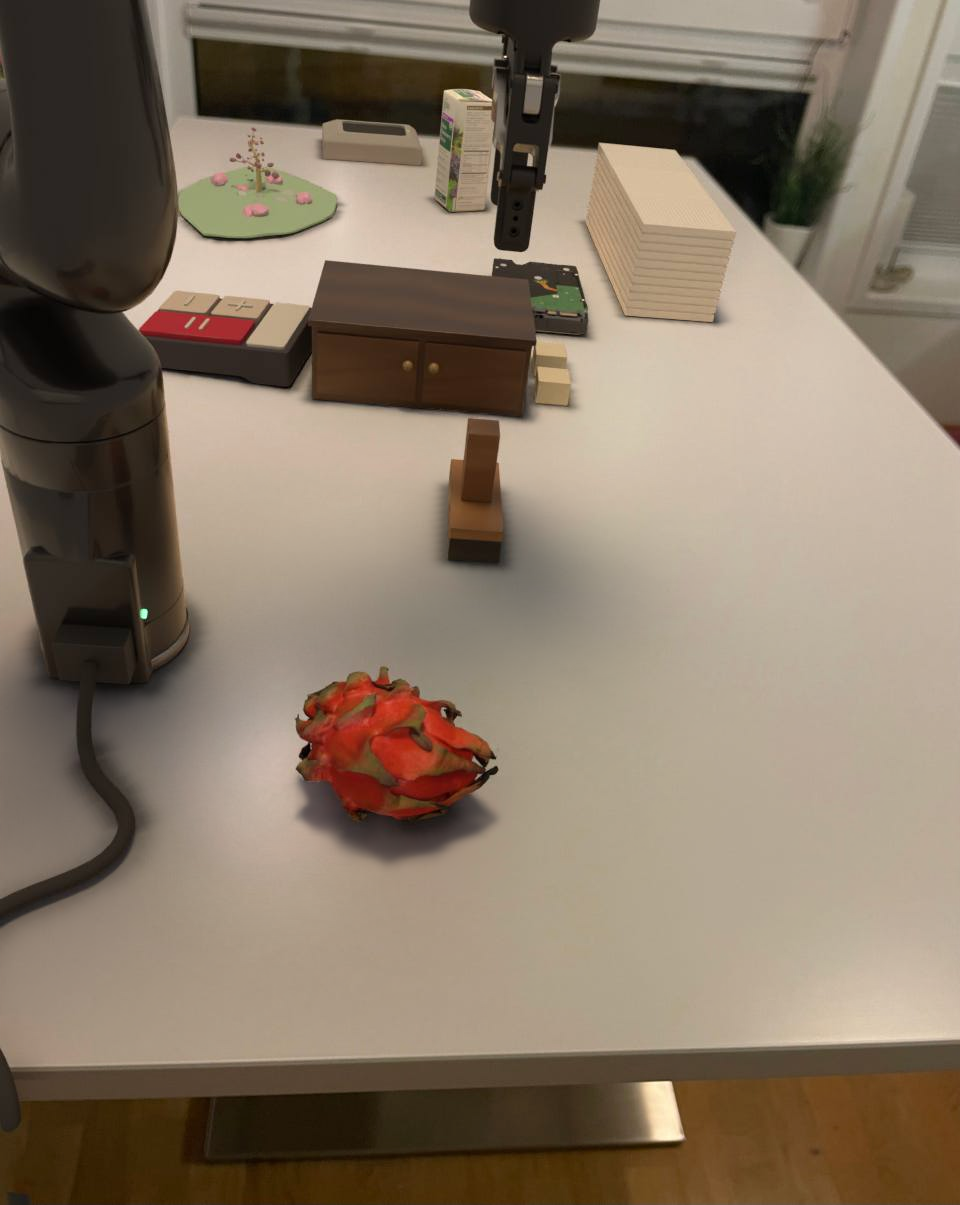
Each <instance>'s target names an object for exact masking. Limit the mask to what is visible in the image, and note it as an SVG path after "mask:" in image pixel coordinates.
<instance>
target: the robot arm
mask: <svg viewBox="0 0 960 1205" xmlns="http://www.w3.org/2000/svg"><path fill="white" fill-rule="evenodd" d="M600 5H601V0H469V6H468V7H469V9H468V14H469V15H468V16H469V18H470V20H471V22H472V23H473V24H474V25H475V26H477V27H478V28H479V29H482V30H484V31H486V32H489V33H492V34H495V35H501V44H503V45H502V50H501V51H502V52H501V58H498V57H494V58H493V63H492V70H491V71H492V73H491V89H492V98H491V99H492V109H491V120H492V121H493V122H494V123H495V124H494V130H493V141H492V145H493V147H494V158H493V168H492V178H491V188H490V202H491V203H492V204H493V205H494V206H496V213H495V222H494V233H493V245H494V247H495V248H496V249H497V250H499V251H504V252H515V253H524V252H526V251H528V249H529V247H530V241H531V235H532V234H531V233H532V226H533V218H534V211H535V204H536V196H537V192H540V191H543V188H544V184H545V185H546V183H547V174H546V168H547V161H548V160H547V159H548V153H549V151H550V148H551V145H552V142H553V136H554V135H553V134H554V122H555V121H554V120H555V108H556V107H557V104H558V101H559V98H560V94H561V84H562V73H559V72H558V71H559V66H558V64H552V59H553V49H554V47H555V45H556V44H558V43H560V42H565V43H578V42H582V41H586V40H589V39H590V38H591V37H592V36H593V35H594V34H595V32H596V30H597V24H598V18H599V12H600ZM155 48H156V47H155V43H154V36H153V31H152V25H151V19H150V14H149V7H148V1H147V0H0V59H1V66H2V72H3V77H0V462H1V466H2V471H3V475H4V480H5V484H6V489H7V494H8V497H9V504H10V507H11V512H12V517H13V520H14V521H13V522H14V525H15V526H14V527H15V530H16V536H17V538H18V543H19V547H20V552H21V556H22V557H21V558H22V564H23V569H24V573H25V577H26V582H27V587H28V590H29V596H30V601H31V604H32V609H33V614H34V618H35V623H36V627H37V635H38V640H39V644H40V650H41V652H42V654H43V658H44V663H45V667H46V671H47V676H48V677H49V678H57V679H58V680H60V681H72V682H80V684H79V689H78V694H77V703H76V717H75V718H76V724H75V725H76V727H75V730H76V731H75V732H76V737H75V738H76V746H77V752H78V757H79V760H80V764H81V766H82V769H83V771H84V773H85V775H86V777H87V778H88V780H89V782H90V783H91V784H92V786H93V787H94V789H96V791H97V792H98V793H99V794H100V795H101V796H102V797H103V798H104V799H105V800H106V802H108V804H109V805H110V806H111V807H112V808H113V810H114V811H115V813H116V815H117V820H118V822H117V824H118V825H117V830H116V833H115V835H114V837H113V838H112V840H111V842H110V844H108V845H107V847H106V848H104V849H103V850H102V851H101V852H100V853H98V854H97V855H96V856H94V857H93V858H91V859H90V860H88V861H86V862H84V863H82V864H80V865H78V866H76V867H74V868H72V869H69V870H66V871H65V872H62V873H60V874H57V875H54V876H52V877H49V878H47V879H44V880H41V881H39V882H36V883H34V884H31V885H28V886H26V887H23V888H21V889H18V890H15V891H14V892H12V893H10V894H8V895H6V896H4V897H1V898H0V920H1V919H2V918H4V917H6V916H8V915H9V914H11V913H14V912H16V911H17V910H19V909H22V908H23V907H26V906H28V905H31V904H33V903H35V902H38V901H40V900H44V899H46V898H48V897H51V896H54V895H56V894H59V893H62V892H64V891H66V890H69V889H72V888H73V887H76V886H79V885H81V884H83V883H85V882H87V881H89V880H91V879H92V878H94V877H96V876H98V875H99V874H101V873H102V872H104V871H106V869H108V868H110V867H111V866H112V865H113V864H114V863H115V862H116V861H117V860H118V859H119V858H121V856H123V854H124V853H125V850H126V848H127V847H128V846H129V844H130V841H131V840H132V837H133V834H134V831H135V828H136V826H135V824H136V822H135V821H136V816H135V813H134V810H133V808H132V806H131V803H130V802H129V800H128V798H127V797H126V796H125V795H124V794H123V793H122V792H121V791H120V789H119V788H118V787H117V786H116V785H115V784H114V783H113V782H112V781H111V780H110V779H109V777H108V776H107V774H105V773H104V771H103V770H102V768H101V767H100V764H99V762H98V761H97V757H96V754H95V749H94V744H93V734H92V730H93V729H92V728H93V727H92V726H93V724H92V723H93V721H92V719H93V702H94V695H95V690H96V685H97V684H96V683H104V684H117V685H118V684H120V685H130V684H131V683H138V684H144V683H147V682H148V681H149V679H150V676H151V674H152V673H153V671H155V670H157V669H158V668H160V667H162V666H164V665H166V664H167V663H168V662H170V661H171V660H172V659H173V658H174V657H175V656H177V655H178V654H179V653H180V651H181V650H182V649H183V648H184V646H185V644H186V642H187V641H188V638H189V634H190V618H189V617H190V616H189V612H188V607H187V605H186V604H187V603H186V595H185V594H186V593H185V584H184V576H183V566H182V557H181V556H182V555H181V548H180V547H181V546H180V537H179V536H180V535H179V526H178V516H177V508H176V498H175V487H174V477H173V467H172V459H171V458H172V457H171V447H170V445H171V444H170V434H169V423H168V414H167V405H166V394H165V384H164V376H163V368H161V364H160V360H159V358H158V355H157V353H156V351H155V350H154V348H153V347H152V345H151V344H150V343H149V342H148V340H147V339H146V338H145V337H144V336H143V335H142V334H141V333H140V332H139V331H138V330H139V328H137V327H136V326H135V325H134V324H133V323H132V322H131V320H129V318H128V316H127V315H126V314H125V313H124V312H127V311H129V310H132V309H134V308H135V307H137V306H139V305H140V304H142V303H143V302H144V301H145V300H147V299H148V298H149V297H150V296H151V295H152V294H153V292H155V290H156V288H157V287H158V286H159V284H160V283H161V282H162V280H163V278H164V276H165V274H166V272H167V269H168V267H169V265H170V263H171V261H172V260H171V259H172V257H173V253H174V249H175V244H176V241H177V231H178V223H179V222H178V221H179V205H178V199H179V193H178V180H177V173H176V172H177V171H176V165H175V164H176V163H175V158H174V152H173V151H174V150H173V145H172V139H171V134H170V128H169V123H168V122H169V121H168V117H167V111H166V105H165V99H164V94H163V89H162V83H161V77H160V71H159V65H158V60H157V59H158V58H157V54H156V49H155ZM529 154H530V155H531V156H532V165H528V160H529ZM20 1107H21V1106H20V1101H19V1096H18V1091H17V1086H16V1084H15V1081H14V1076H13V1072H12V1070H11V1068H10V1066H9V1063H8V1061H7V1057H6V1055H5V1054H4V1052H3V1050H2V1048H1V1047H0V1128H1V1129H2V1131H4V1133H12V1132H14V1131H15V1130H17V1129H18V1128H19V1126H20V1124H21V1121H22V1113H21V1108H20ZM6 1195H7V1200H8V1205H32V1202H31V1201H32V1200H31V1198H30V1195H29V1194H26V1193H20V1192H14V1191H6Z"/></svg>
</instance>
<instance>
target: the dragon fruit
mask: <svg viewBox="0 0 960 1205" xmlns="http://www.w3.org/2000/svg"><path fill="white" fill-rule="evenodd" d="M389 671H390V670H389V667H387V666H385V665H384V666H380V667H379V672H378V677H377V678H376V680H372V677H371V675H370V674H369V672H366V671H361V670H360V671H353V672H351V673H349V674H348V675H347V678H346V680H344V681H343V680H342V681H336V680H335V681H332V682H331V683H329V684H328V685H325V686H324V687H323V688H321V689H319V690H316V691H314V692H312V693H308V694H307V696H306V697H307V698H306V699H305V700H304V702H303V708H302V711H303V714H304V715H305V716H306V717H307V720H303V719H301V718H300V714H299V713H297V715H296V717H295V718H294V721H295V731H296V734H297V735H298V737H299V738H300V739H301V740H303V741H305V742H307V744H306V745H304V746H302V748H301V750H300V752H299V754H298V758H299V759H300V760H301V761H300V762H298V764H297V765H296V766H295V771H296V772H297V773H298V775H300V776H301V778H302V780H303V781H304V782H305V783H315V782H322V781H326V782H328V784H330V786H331V788H332V789H333V790H334V792H335V793H336V795H337V797H338V798H339V800H340V801H341V806H342V808H343V810H344V811H345V813H346V814H347V815H348V817H349V818H350V820H351V821H353V822H356V823H361V822H362V821H363V820H364V819H366V817H367V816H368V813H367V812H372V813H374V814H378V815H381V816H388V817H393V819H396V820H399V821H402V820H409V822H418V821H421V820H427V819H431V818H434V817H438V816H444V815H445V814H446V813H447V812H448V811H449V808H448V807H449V806H451V805H452V804H454V803H455V802H457V801H458V800H460V799H461V798H463V797H465V796H467V795H469V794H472V793H474V792H476V791H478V790H479V789H480V788H482V787H483V786H484V785H485V784H486V783H487V782H488V780H490V778H491V776H495V775H497V773H498V772H499V770H500V769H499V766H498V765H495V766H493V767H491V768H489V769H486V768H487V766H488V765H489V763H490V760H492V761H494V760H495V761H496V760H497V758H498V756H496V755H495V753H494V751H493V750H492V749H491V747H490V746H489V743H488V742H487V741H486V740H485V739H483V738H482V737H481V736H480V735H478V734H475V733H473V732H470V731H468V730H466V729H464V728H462V727H459V726H456V724H455V720H456V719H457V717H460V718H462V717H463V713H462V712H461V710H459V709H457V707H456V704H455V703H453V702H452V701H451V700H447V699H437V700H426V699H423V698H420V696H421V694H420V693H421V692H420V689H419V686H417V685H415V686H412V687H411V685H410V683H409V682H408V681H407V680H406V679H403V678H396V679H393V681H391V682H390V677H389ZM442 708H443V711H444V713H445V716H446V717H445V716H443V714H442ZM497 747H498V748H497V750H496V751H499V746H497ZM473 759H475V760H476V761H477V762H478V763H477V762H475V761H473ZM479 764H480V765H479ZM479 775H480V776H479ZM477 777H478V778H477ZM366 811H367V812H366Z"/></svg>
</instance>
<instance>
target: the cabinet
mask: <svg viewBox="0 0 960 1205" xmlns="http://www.w3.org/2000/svg"><path fill="white" fill-rule="evenodd" d="M320 273H321V274H320V276H319V280H318V283H317V288H316V291H315V294H314V297H313V301H312V304H311V307H310V308H311V312H310V316H309V319H308V326H312V350H311V399H312V400H323V401H333V402H345V403H356V404H367V405H381V406H392V407H401V408H402V407H403V408H416V409H424V410H425V409H426V410H439V411H451V412H462V413H473V414H485V415H495V416H507V417H508V416H509V417H523V413H524V407H525V400H526V392H527V387H528V386H527V384H528V378H529V372H530V364H531V359H532V358H531V357H532V352H533V347H534V346H536V342H537V341H538V340H537V333H536V332H537V331H535V325H534V318H533V311H532V303H531V296H530V289H529V282H528V280H526V279H516V278H505V277H495V276H492V275H484V274H474V273H465V272H464V273H463V272H452V271H441V270H432V269H422V268H413V267H412V268H410V267H401V266H390V265H381V264H380V265H379V264H370V263H361V262H360V263H358V262H348V261H338V260H337V261H336V260H327V259H325V260H324V263H323V267H322V270H321V272H320Z"/></svg>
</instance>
